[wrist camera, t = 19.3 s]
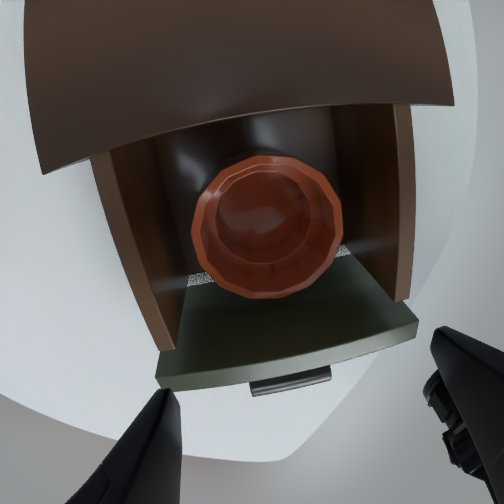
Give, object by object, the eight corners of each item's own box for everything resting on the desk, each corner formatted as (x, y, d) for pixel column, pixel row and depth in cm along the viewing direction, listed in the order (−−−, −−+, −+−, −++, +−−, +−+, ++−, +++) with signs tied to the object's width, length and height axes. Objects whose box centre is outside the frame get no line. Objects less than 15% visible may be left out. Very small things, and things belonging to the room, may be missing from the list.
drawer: (357, 323, 22) (400, 397, 15) (199, 356, 22) (195, 442, 14) (339, 61, 14) (414, 29, 7) (124, 98, 14) (53, 83, 7)
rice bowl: (307, 138, 15) (335, 143, 11) (320, 248, 17) (345, 283, 14) (187, 160, 15) (174, 172, 11) (214, 270, 17) (213, 312, 14)
